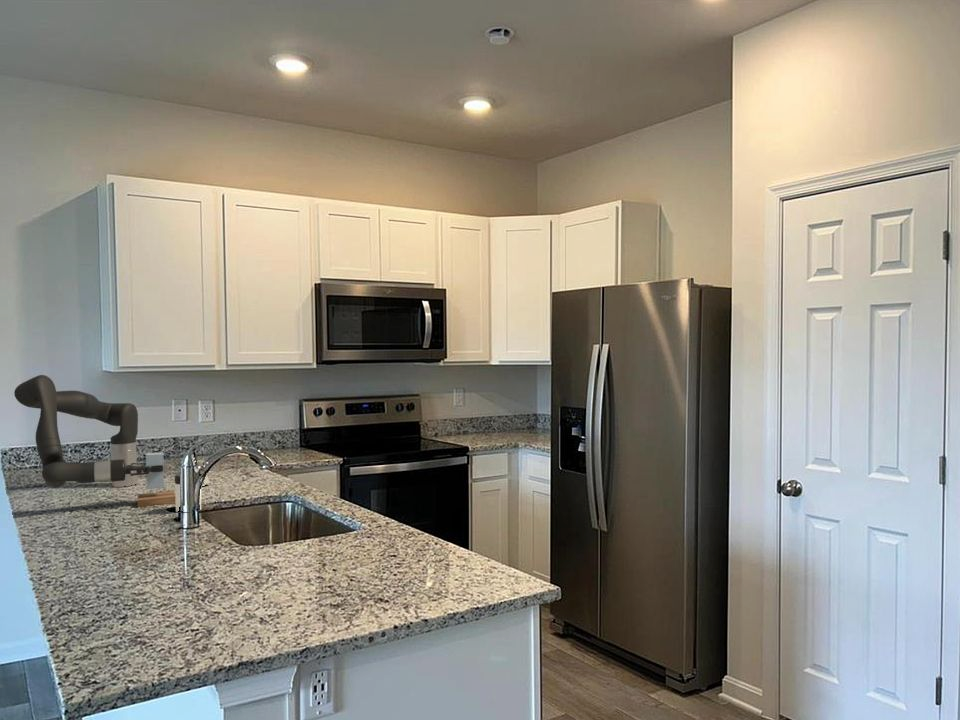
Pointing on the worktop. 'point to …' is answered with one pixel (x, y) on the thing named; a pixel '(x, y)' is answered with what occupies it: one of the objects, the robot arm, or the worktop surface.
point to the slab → (156, 498)
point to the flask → (206, 475)
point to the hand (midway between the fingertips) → (162, 467)
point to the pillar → (155, 478)
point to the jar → (177, 492)
